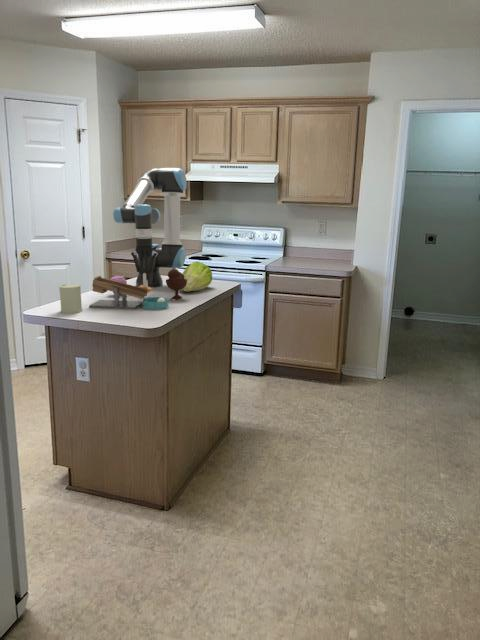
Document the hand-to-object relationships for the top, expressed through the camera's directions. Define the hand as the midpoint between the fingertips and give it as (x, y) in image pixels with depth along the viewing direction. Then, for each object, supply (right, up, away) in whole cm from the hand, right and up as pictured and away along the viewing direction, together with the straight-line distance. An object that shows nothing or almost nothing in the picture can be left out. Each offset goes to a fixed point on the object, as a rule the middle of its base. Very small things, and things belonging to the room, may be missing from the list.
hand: (145, 286), depth 248 cm
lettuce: (+21, 0, +32) cm, 38 cm away
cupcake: (-17, -3, +17) cm, 25 cm away
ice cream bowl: (+14, -6, +10) cm, 18 cm away
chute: (-10, -4, -4) cm, 12 cm away
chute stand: (-12, -9, -7) cm, 17 cm away
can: (-30, -12, -18) cm, 37 cm away
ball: (+9, -8, -10) cm, 16 cm away
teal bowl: (+6, -10, -9) cm, 15 cm away
